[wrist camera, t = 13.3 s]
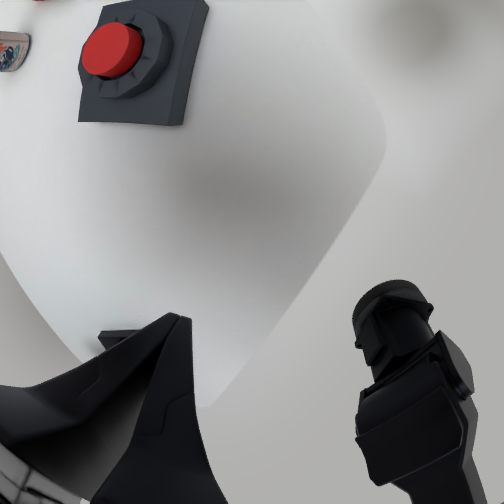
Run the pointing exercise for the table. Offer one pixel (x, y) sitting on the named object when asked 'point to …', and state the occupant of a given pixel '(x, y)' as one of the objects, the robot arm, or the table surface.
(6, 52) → the beer can
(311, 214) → the table surface
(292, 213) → the table surface
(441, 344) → the robot arm
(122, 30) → the stop button
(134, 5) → the stop housing
